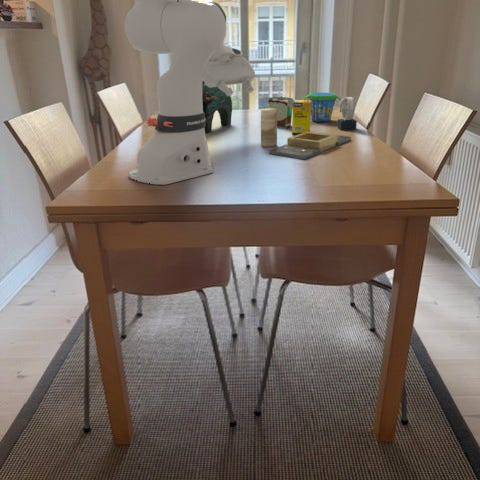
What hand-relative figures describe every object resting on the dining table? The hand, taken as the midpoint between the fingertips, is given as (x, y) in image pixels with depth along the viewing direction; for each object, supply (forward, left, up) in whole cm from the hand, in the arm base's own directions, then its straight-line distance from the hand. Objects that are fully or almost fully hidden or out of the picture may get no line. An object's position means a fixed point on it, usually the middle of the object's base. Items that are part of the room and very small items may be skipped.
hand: (241, 93), depth 141 cm
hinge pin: (-1, -11, -15) cm, 19 cm away
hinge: (+5, -23, -15) cm, 28 cm away
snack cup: (+45, -4, -15) cm, 48 cm away
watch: (+36, -20, -15) cm, 44 cm away
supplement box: (+20, -10, -15) cm, 27 cm away
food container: (+29, +3, -15) cm, 33 cm away
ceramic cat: (+11, +22, -15) cm, 29 cm away
